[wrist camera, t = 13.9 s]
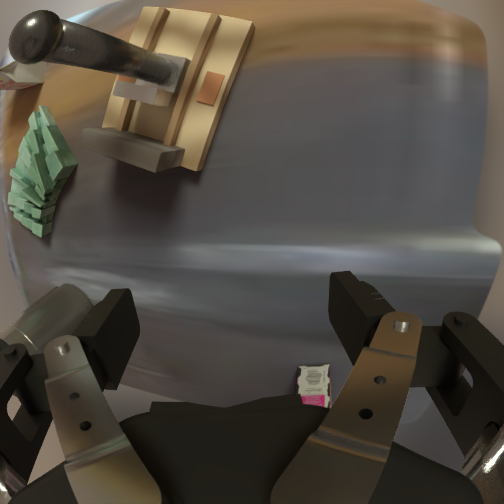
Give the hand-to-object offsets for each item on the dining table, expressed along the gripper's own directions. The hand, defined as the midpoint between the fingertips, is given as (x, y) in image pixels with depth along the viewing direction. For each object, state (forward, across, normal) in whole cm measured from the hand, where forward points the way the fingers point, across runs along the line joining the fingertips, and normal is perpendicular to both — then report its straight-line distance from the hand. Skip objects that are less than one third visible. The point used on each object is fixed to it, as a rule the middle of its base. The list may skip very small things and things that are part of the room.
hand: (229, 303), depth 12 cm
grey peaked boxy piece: (+31, +31, -24) cm, 50 cm away
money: (+32, +30, -8) cm, 44 cm away
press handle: (+23, +6, -15) cm, 28 cm away
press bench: (+25, +6, -15) cm, 30 cm away
